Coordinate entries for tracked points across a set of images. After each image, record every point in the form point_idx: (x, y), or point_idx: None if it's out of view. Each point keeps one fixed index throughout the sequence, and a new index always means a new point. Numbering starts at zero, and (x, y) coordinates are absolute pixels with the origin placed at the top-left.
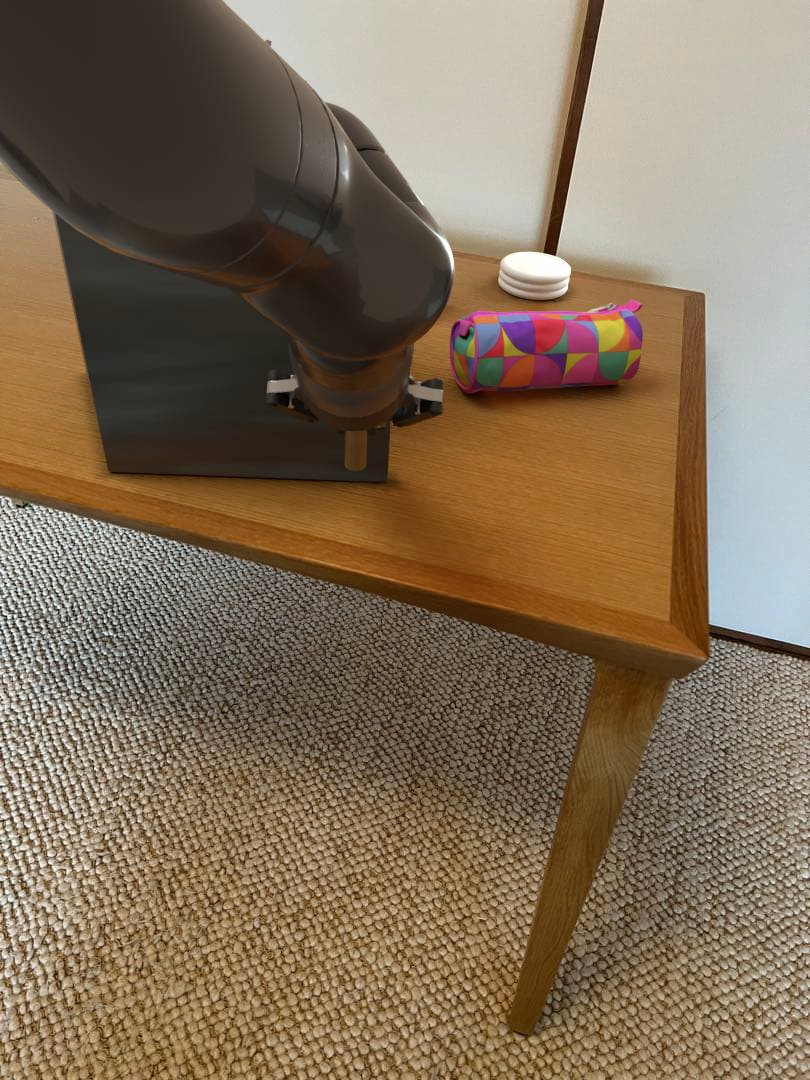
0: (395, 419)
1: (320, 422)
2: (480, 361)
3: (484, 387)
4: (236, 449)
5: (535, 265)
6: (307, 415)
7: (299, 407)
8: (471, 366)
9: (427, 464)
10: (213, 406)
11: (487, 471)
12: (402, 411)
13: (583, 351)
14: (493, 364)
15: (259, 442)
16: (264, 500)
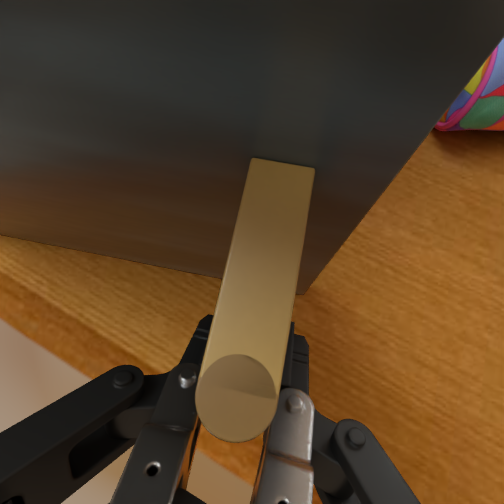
0: (323, 493)
1: (211, 251)
2: (479, 102)
3: (462, 129)
4: (107, 246)
5: None
6: (95, 473)
7: (52, 502)
8: (459, 103)
9: (360, 260)
10: (44, 213)
11: (437, 285)
12: (347, 489)
13: None
14: (496, 106)
15: (133, 247)
16: (146, 308)
